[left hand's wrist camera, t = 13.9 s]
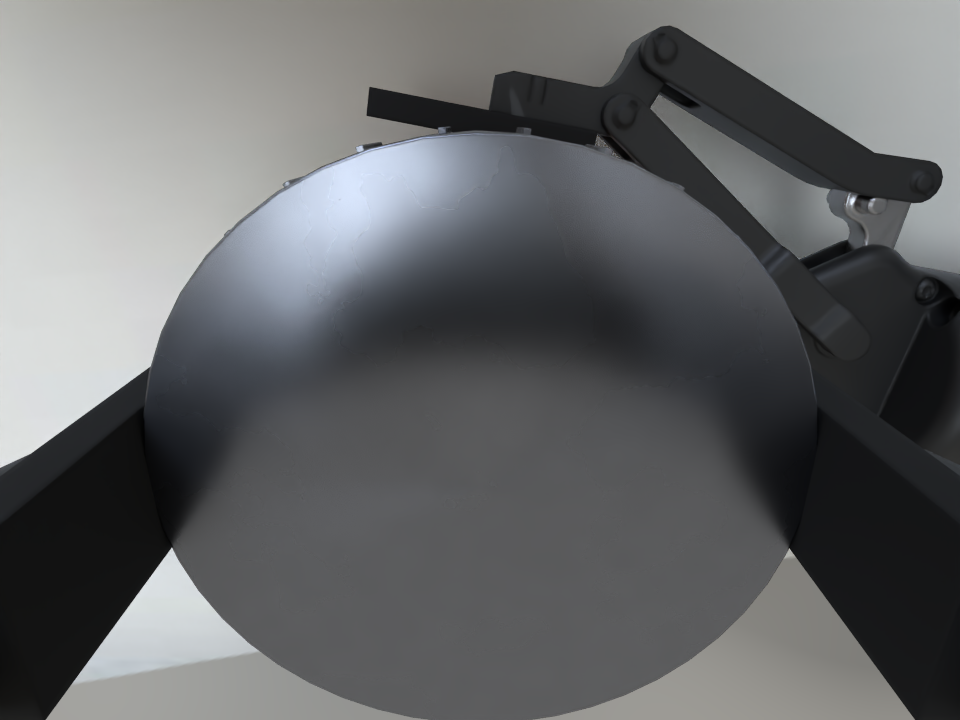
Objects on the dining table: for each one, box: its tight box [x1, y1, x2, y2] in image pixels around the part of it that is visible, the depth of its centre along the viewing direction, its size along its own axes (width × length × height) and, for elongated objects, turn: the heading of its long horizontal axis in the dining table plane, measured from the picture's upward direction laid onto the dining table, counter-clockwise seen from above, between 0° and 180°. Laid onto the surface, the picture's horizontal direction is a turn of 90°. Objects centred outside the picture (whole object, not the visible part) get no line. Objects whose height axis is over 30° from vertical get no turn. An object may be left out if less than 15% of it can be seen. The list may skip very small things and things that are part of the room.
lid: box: [143, 127, 818, 720], centre depth 11 cm, size 11×11×2 cm
